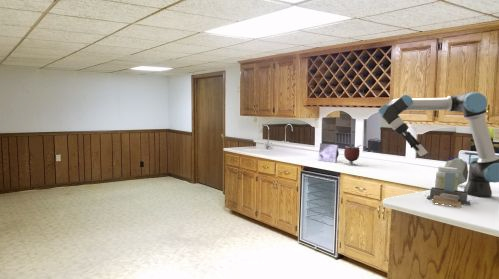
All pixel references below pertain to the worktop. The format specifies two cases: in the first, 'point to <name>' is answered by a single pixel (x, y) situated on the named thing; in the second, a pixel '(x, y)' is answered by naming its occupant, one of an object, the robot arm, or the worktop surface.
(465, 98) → the robot arm
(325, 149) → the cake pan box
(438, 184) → the supplement tub
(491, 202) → the worktop surface
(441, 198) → the offcut stack
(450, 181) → the slate board
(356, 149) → the mate gourd
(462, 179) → the rock
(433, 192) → the slot rack
